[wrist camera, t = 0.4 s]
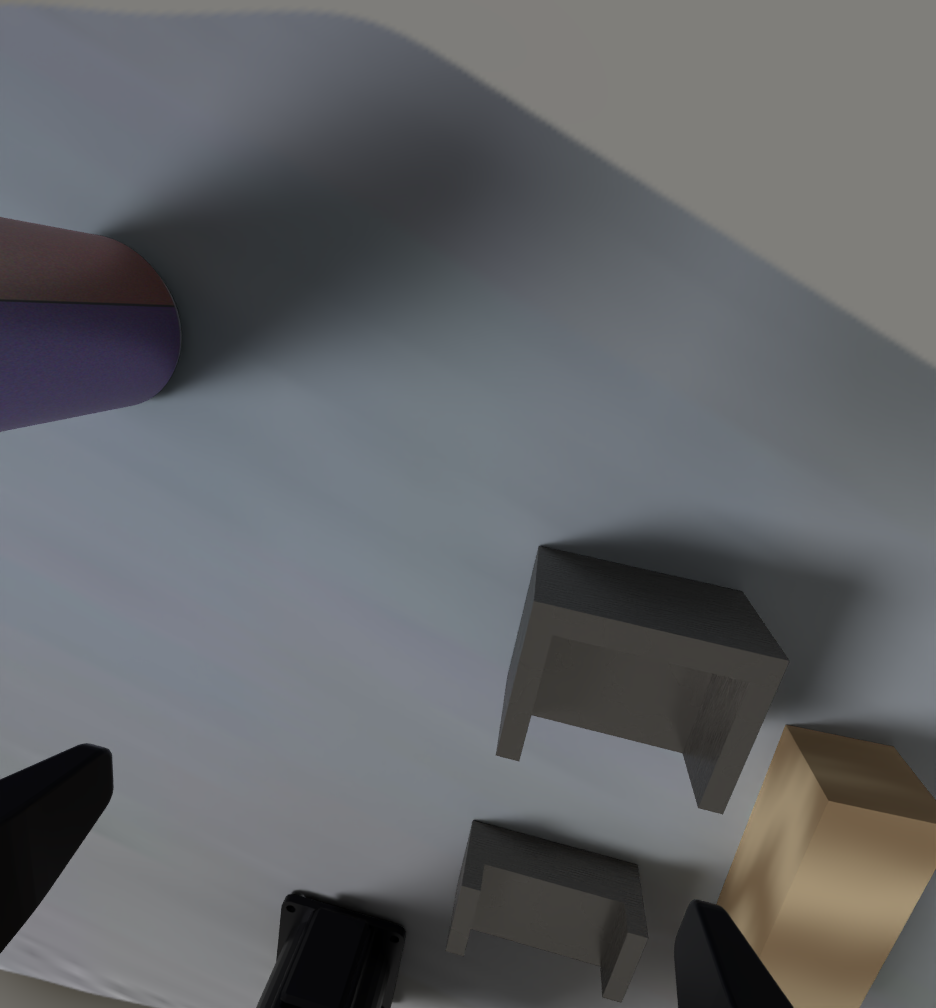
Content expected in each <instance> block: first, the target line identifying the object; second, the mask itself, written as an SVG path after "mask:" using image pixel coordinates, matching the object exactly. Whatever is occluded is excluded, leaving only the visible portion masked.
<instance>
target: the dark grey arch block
mask: <svg viewBox="0 0 936 1008" xmlns="http://www.w3.org/2000/svg"><path fill="white" fill-rule="evenodd" d="M471 929H473V930H476V931H480V932H483V933H486V934H490V935H493V936H497V937H500V938H504V939H507V940H511V941H514V942H518V943H521V944H525V945H528V946H531V947H535V948H538V949H542V950H545V951H549V952H552V953H556V954H559V955H563V956H566V957H570V958H573V959H576V960H580V961H583V962H587V963H590V964H594V965H597V966H600V967H601V983H602V997H604V998H607V999H610V1000H614V1001H617V1002H622V1000H623V998H624V995H625V993H626V990H627V988H628V986H629V983H630V981H631V978H632V976H633V974H634V971H635V969H636V966H637V964H638V962H639V959H640V957H641V954H642V952H643V950H644V947H645V945H646V942H647V940H648V933H647V926H646V919H645V912H644V906H643V899H642V892H641V885H640V878H639V871H638V865H636V864H632V863H628V862H625V861H621V860H617V859H614V858H610V857H606V856H603V855H599V854H595V853H592V852H588V851H584V850H581V849H577V848H573V847H569V846H566V845H562V844H558V843H555V842H551V841H547V840H544V839H540V838H536V837H533V836H529V835H525V834H522V833H518V832H514V831H511V830H507V829H503V828H499V827H496V826H492V825H488V824H485V823H481V822H477V821H474V820H473V822H472V826H471V830H470V834H469V838H468V842H467V847H466V851H465V855H464V859H463V863H462V867H461V872H460V876H459V880H458V885H457V890H456V896H455V901H454V907H453V913H452V918H451V924H450V929H449V935H448V940H447V946H446V951H447V952H450V953H454V954H457V955H461V956H464V953H465V949H466V945H467V942H468V938H469V934H470V930H471Z"/></svg>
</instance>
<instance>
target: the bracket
mask: <svg viewBox="0 0 936 1008" xmlns="http://www.w3.org/2000/svg"><path fill="white" fill-rule="evenodd" d="M788 663H789V660H788V658H787V657H786V655H785V654H784V652H783V651H782V649H781V648H780V646H779V645H778V643H777V642H776V640H775V639H774V637H773V636H772V634H771V633H770V632H769V630H768V629H767V627H766V626H765V624H764V623H763V621H762V620H761V618H760V617H759V615H758V614H757V612H756V611H755V609H754V608H753V606H752V605H751V603H750V602H749V601H748V599H747V598H746V596H745V595H744V593H743V592H742V591H738V590H733V589H729V588H724V587H720V586H715V585H711V584H707V583H702V582H698V581H693V580H689V579H684V578H680V577H676V576H671V575H667V574H662V573H658V572H653V571H649V570H644V569H640V568H636V567H631V566H627V565H622V564H618V563H613V562H609V561H605V560H600V559H596V558H591V557H587V556H582V555H578V554H573V553H569V552H565V551H560V550H556V549H551V548H547V547H542V546H539V547H538V551H537V555H536V560H535V564H534V568H533V572H532V576H531V580H530V584H529V589H528V593H527V597H526V601H525V605H524V609H523V614H522V618H521V622H520V626H519V630H518V634H517V639H516V643H515V647H514V651H513V655H512V659H511V664H510V668H509V672H508V676H507V682H506V689H505V696H504V703H503V710H502V717H501V724H500V731H499V737H498V744H497V751H496V755H497V756H500V757H504V758H508V759H512V760H516V761H519V760H520V756H521V752H522V748H523V744H524V741H525V737H526V733H527V729H528V726H529V722H530V718H531V715H533V716H537V717H541V718H545V719H549V720H553V721H557V722H561V723H565V724H569V725H573V726H577V727H581V728H585V729H589V730H593V731H597V732H601V733H605V734H609V735H613V736H617V737H621V738H625V739H628V740H632V741H636V742H640V743H644V744H648V745H652V746H656V747H660V748H664V749H668V750H672V751H676V752H680V753H683V757H684V760H685V764H686V767H687V771H688V774H689V778H690V781H691V785H692V788H693V792H694V795H695V799H696V802H697V806H698V808H700V809H704V810H708V811H712V812H716V813H720V814H723V813H724V811H725V808H726V806H727V804H728V801H729V799H730V797H731V794H732V792H733V790H734V788H735V785H736V783H737V781H738V778H739V776H740V774H741V771H742V769H743V767H744V765H745V762H746V760H747V758H748V755H749V753H750V751H751V748H752V746H753V744H754V742H755V739H756V737H757V735H758V732H759V730H760V728H761V725H762V723H763V721H764V719H765V716H766V714H767V712H768V709H769V707H770V705H771V702H772V700H773V698H774V696H775V693H776V691H777V689H778V686H779V684H780V682H781V679H782V677H783V675H784V673H785V670H786V668H787V666H788Z"/></svg>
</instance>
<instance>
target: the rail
mask: <svg viewBox="0 0 936 1008" xmlns="http://www.w3.org/2000/svg"><path fill="white" fill-rule="evenodd" d="M935 869H936V800H935V799H934V798H933V796H932V795H931V794H930V793H929V791H928V790H927V789H926V787H925V786H924V785H923V784H922V782H921V781H920V780H919V779H918V777H917V776H916V775H915V773H914V772H913V771H912V770H911V768H910V767H909V766H908V765H907V763H906V762H905V761H904V759H903V758H902V757H901V756H900V754H899V753H898V752H897V751H896V749H895V748H894V747H893V746H888V745H883V744H878V743H873V742H868V741H864V740H859V739H854V738H849V737H844V736H839V735H834V734H829V733H824V732H819V731H815V730H810V729H805V728H800V727H795V726H790V725H785V728H784V730H783V733H782V735H781V738H780V741H779V743H778V746H777V748H776V751H775V754H774V756H773V759H772V761H771V764H770V766H769V769H768V772H767V774H766V777H765V779H764V782H763V785H762V787H761V790H760V792H759V795H758V797H757V800H756V803H755V805H754V808H753V810H752V813H751V816H750V818H749V821H748V823H747V826H746V829H745V831H744V834H743V836H742V839H741V841H740V844H739V847H738V849H737V852H736V854H735V857H734V860H733V862H732V865H731V867H730V870H729V873H728V875H727V878H726V880H725V883H724V885H723V888H722V891H721V893H720V896H719V898H718V901H717V905H719V906H721V907H723V908H724V909H725V910H726V911H727V913H728V914H729V915H730V917H731V918H732V920H733V921H734V923H735V924H736V925H737V927H738V928H739V930H740V931H741V933H742V934H743V935H744V937H745V938H746V940H747V941H748V943H749V944H750V945H751V947H752V948H753V950H754V951H755V953H756V954H757V955H758V957H759V958H760V960H761V961H762V963H763V964H764V965H765V967H766V968H767V970H768V971H769V973H770V974H771V975H772V977H773V978H774V980H775V981H776V983H777V984H778V985H779V987H780V988H781V990H782V991H783V993H784V994H785V995H786V997H787V998H788V1000H789V1001H790V1003H791V1004H792V1005H793V1007H794V1008H859V1007H860V1005H861V1004H862V1002H863V1000H864V998H865V996H866V995H867V993H868V991H869V989H870V987H871V985H872V984H873V982H874V980H875V978H876V976H877V975H878V973H879V971H880V969H881V967H882V965H883V964H884V962H885V960H886V958H887V956H888V955H889V953H890V951H891V949H892V947H893V946H894V944H895V942H896V940H897V938H898V936H899V935H900V933H901V931H902V929H903V927H904V926H905V924H906V922H907V920H908V918H909V916H910V915H911V913H912V911H913V909H914V907H915V906H916V904H917V902H918V900H919V898H920V896H921V895H922V893H923V891H924V889H925V887H926V886H927V884H928V882H929V880H930V878H931V876H932V875H933V873H934V871H935Z"/></svg>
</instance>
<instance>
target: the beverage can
mask: <svg viewBox="0 0 936 1008" xmlns="http://www.w3.org/2000/svg"><path fill="white" fill-rule="evenodd" d="M181 343H182V331H181V323H180V318H179V314H178V310H177V307H176V304H175V302H174V300H173V297H172V295H171V293H170V291H169V290H168V288H167V286H166V285H165V283H164V282H163V280H162V279H161V278H160V276H159V275H158V274H157V272H156V271H155V270H154V269H153V268H152V267H151V266H150V264H149V263H148V262H147V261H146V260H145V259H144V258H142V257H141V256H140V255H139V254H138V253H136V252H135V251H134V250H132V249H131V248H129V247H128V246H126V245H124V244H122V243H120V242H118V241H116V240H114V239H111V238H108V237H104V236H99V235H94V234H89V233H83V232H78V231H72V230H67V229H62V228H56V227H51V226H46V225H40V224H35V223H29V222H24V221H19V220H13V219H8V218H2V217H0V432H2V431H7V430H12V429H17V428H22V427H27V426H32V425H37V424H42V423H47V422H52V421H57V420H62V419H67V418H72V417H77V416H82V415H87V414H92V413H97V412H102V411H107V410H112V409H117V408H123V407H128V406H132V405H136V404H140V403H142V402H145V401H147V400H149V399H150V398H152V397H153V396H155V395H156V394H157V393H158V392H159V391H161V389H162V388H163V387H164V386H165V385H166V383H167V382H168V381H169V379H170V377H171V376H172V374H173V372H174V370H175V368H176V365H177V362H178V359H179V356H180V351H181Z"/></svg>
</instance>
